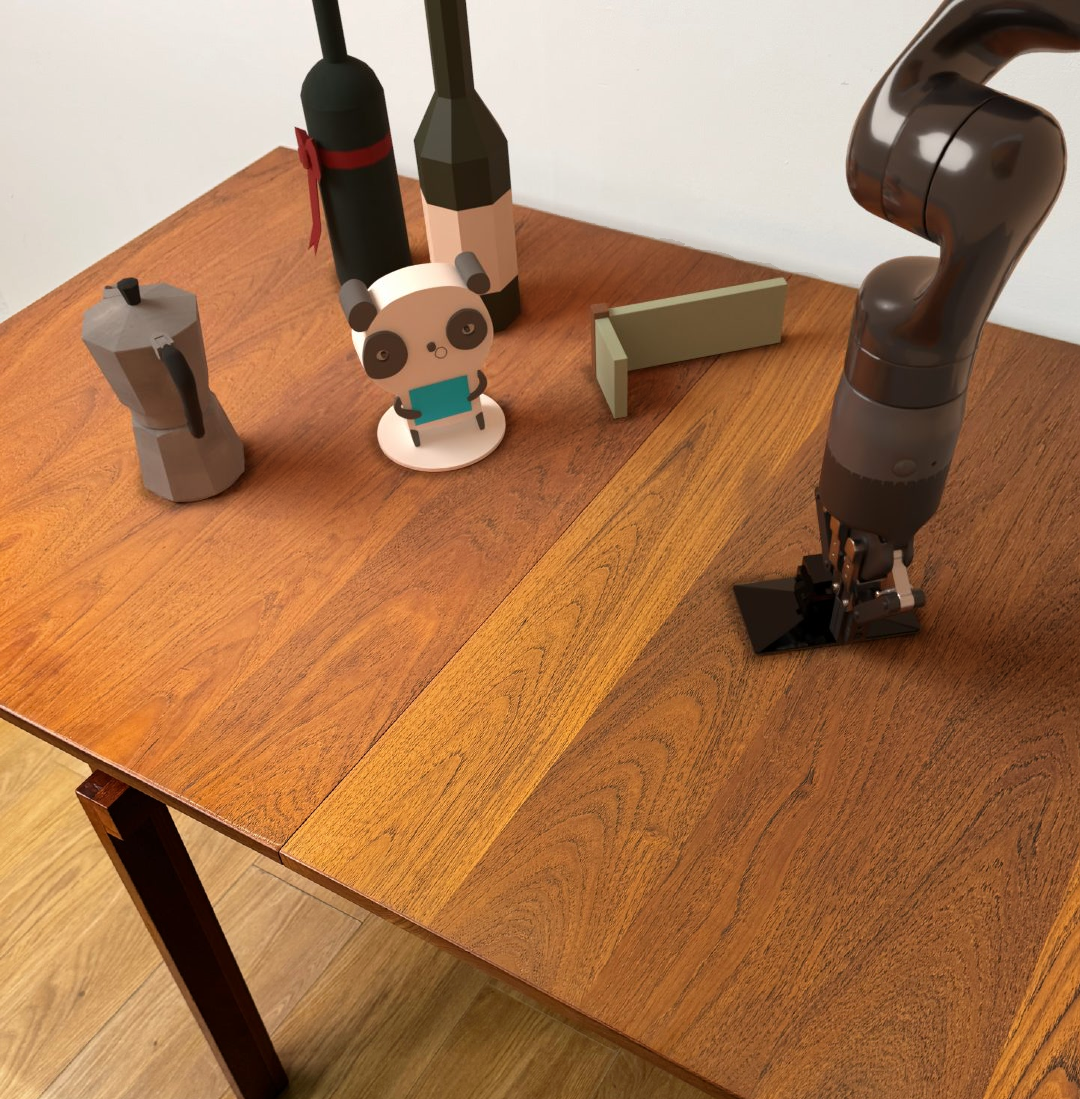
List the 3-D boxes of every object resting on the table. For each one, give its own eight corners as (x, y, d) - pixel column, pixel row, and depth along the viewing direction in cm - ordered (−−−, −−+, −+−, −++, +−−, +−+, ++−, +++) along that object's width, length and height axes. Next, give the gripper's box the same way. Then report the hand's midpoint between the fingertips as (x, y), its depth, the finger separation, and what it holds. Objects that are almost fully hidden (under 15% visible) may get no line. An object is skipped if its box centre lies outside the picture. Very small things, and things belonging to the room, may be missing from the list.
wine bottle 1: (304, 276, 119) (225, -57, 96) (390, 243, 122) (334, -88, 99) (338, 311, 115) (264, -29, 92) (427, 275, 118) (377, -62, 95)
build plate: (754, 657, 84) (759, 613, 81) (730, 587, 89) (734, 542, 85) (921, 632, 85) (934, 587, 81) (889, 563, 89) (899, 518, 86)
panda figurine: (388, 487, 98) (356, 331, 86) (357, 410, 105) (324, 256, 93) (522, 451, 100) (509, 294, 88) (483, 378, 107) (466, 223, 95)
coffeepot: (118, 451, 103) (38, 264, 89) (215, 410, 106) (152, 223, 92) (184, 547, 95) (107, 358, 81) (287, 501, 98) (231, 310, 84)
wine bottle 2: (445, 287, 117) (400, -53, 93) (527, 289, 116) (502, -55, 92) (429, 335, 112) (377, -12, 88) (514, 338, 110) (484, -13, 87)
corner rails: (775, 334, 108) (783, 269, 103) (805, 382, 104) (815, 316, 99) (591, 369, 107) (589, 304, 102) (613, 419, 102) (612, 354, 97)
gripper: (1001, 494, 66) (936, 692, 80) (903, 365, 74) (858, 564, 88) (877, 519, 65) (833, 715, 79) (792, 386, 74) (764, 583, 87)
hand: (846, 635), depth 83 cm, fingers closed
